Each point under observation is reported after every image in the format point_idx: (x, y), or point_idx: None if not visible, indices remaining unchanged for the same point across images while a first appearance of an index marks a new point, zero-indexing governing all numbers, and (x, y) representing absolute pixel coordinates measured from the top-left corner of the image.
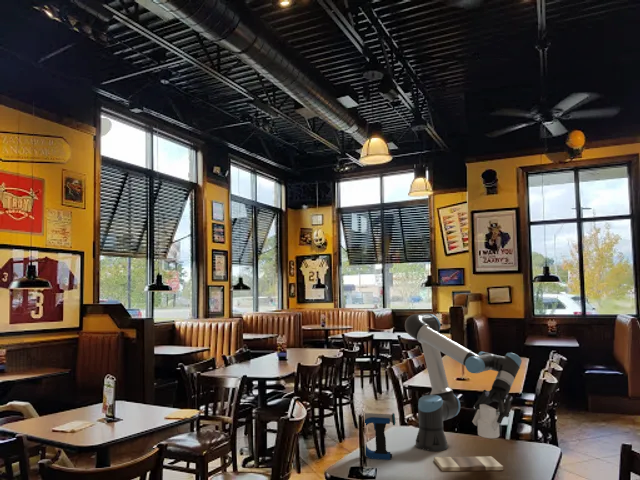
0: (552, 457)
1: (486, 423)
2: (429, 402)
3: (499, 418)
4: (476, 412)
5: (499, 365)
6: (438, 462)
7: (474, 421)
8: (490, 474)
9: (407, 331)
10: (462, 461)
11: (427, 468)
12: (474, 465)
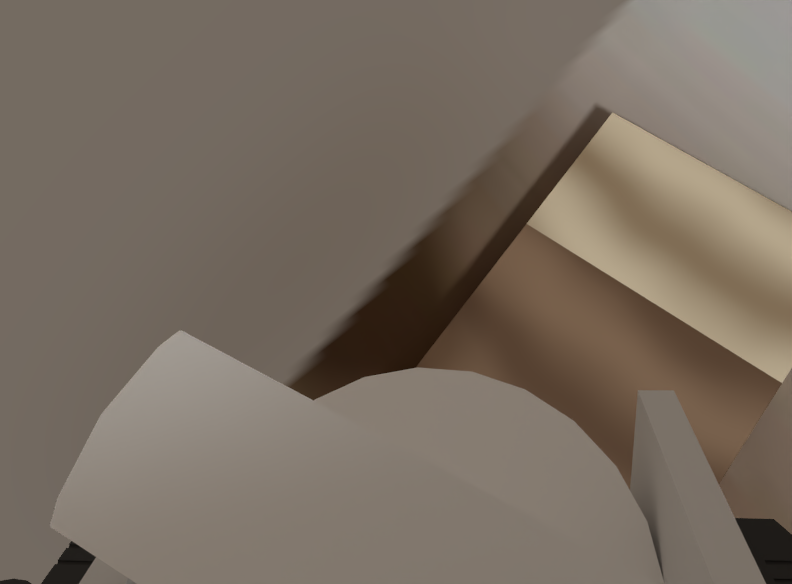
0: None
1: (346, 392)
2: None
3: (85, 563)
4: (747, 545)
5: None
6: (722, 175)
7: (640, 414)
8: (308, 360)
9: None
10: (613, 361)
11: (722, 89)
12: (471, 355)
